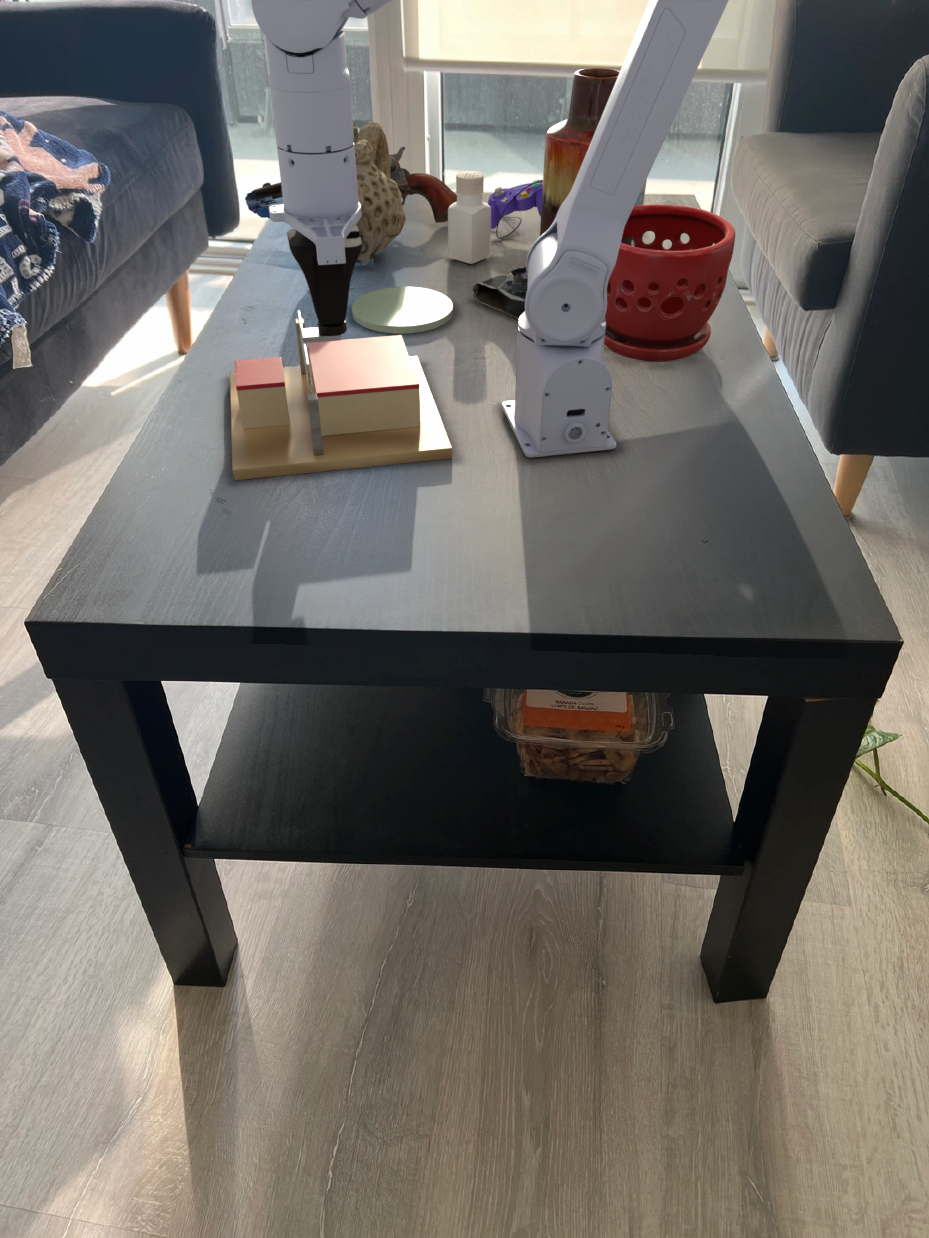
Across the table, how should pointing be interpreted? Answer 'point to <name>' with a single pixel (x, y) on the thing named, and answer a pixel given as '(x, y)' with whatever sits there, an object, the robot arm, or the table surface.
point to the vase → (573, 139)
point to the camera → (504, 292)
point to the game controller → (514, 201)
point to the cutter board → (315, 453)
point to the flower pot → (667, 283)
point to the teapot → (376, 192)
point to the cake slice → (262, 392)
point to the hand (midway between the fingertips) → (331, 321)
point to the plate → (402, 310)
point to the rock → (261, 204)
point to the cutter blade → (318, 339)
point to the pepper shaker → (469, 220)
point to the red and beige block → (364, 385)
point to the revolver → (407, 184)
